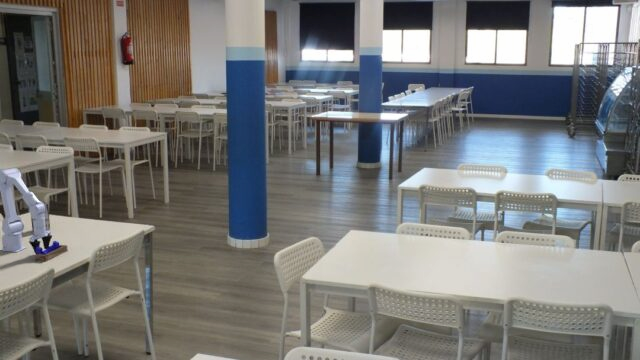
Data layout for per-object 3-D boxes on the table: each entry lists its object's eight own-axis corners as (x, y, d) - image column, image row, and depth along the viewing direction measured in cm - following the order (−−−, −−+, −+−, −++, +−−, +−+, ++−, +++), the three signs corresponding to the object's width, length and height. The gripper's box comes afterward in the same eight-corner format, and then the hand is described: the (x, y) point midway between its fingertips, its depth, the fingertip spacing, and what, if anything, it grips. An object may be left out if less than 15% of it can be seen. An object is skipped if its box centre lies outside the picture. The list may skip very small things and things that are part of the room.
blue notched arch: (52, 250, 350) (53, 239, 348) (58, 253, 348) (59, 242, 346) (33, 256, 339) (34, 245, 337) (39, 259, 337) (39, 248, 336)
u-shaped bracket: (35, 260, 335) (35, 255, 335) (57, 249, 353) (57, 244, 352) (46, 261, 334) (45, 255, 333) (67, 250, 351) (67, 245, 350)
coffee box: (51, 230, 389) (48, 204, 386) (41, 233, 384) (38, 206, 380) (41, 228, 394) (39, 202, 390) (31, 230, 388) (29, 204, 385)
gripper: (37, 230, 334) (39, 256, 336) (54, 223, 347) (57, 247, 350) (25, 229, 335) (27, 254, 338) (43, 222, 349) (45, 246, 352)
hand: (41, 251), depth 344 cm, fingers open, 7 cm apart
